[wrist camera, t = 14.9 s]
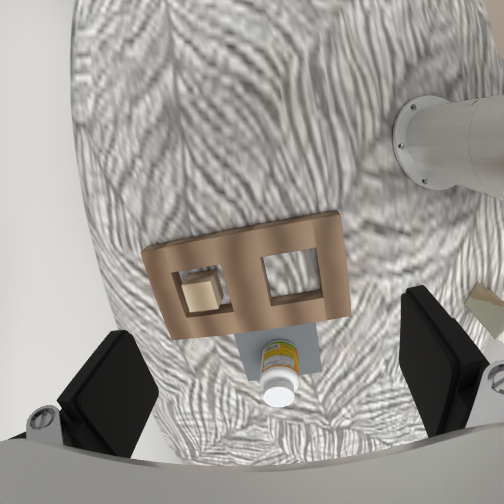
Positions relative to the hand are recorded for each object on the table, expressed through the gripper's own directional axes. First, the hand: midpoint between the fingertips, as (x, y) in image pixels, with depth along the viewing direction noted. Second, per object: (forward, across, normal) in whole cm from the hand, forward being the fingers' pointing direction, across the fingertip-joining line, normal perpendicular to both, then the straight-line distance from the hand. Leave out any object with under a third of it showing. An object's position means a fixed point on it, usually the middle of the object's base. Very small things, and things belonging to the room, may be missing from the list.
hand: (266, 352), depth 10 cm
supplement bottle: (+30, +4, +23) cm, 38 cm away
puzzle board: (+30, +6, +10) cm, 32 cm away
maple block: (+30, +12, +10) cm, 34 cm away
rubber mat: (+30, +4, +23) cm, 38 cm away
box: (+31, -30, +21) cm, 48 cm away
